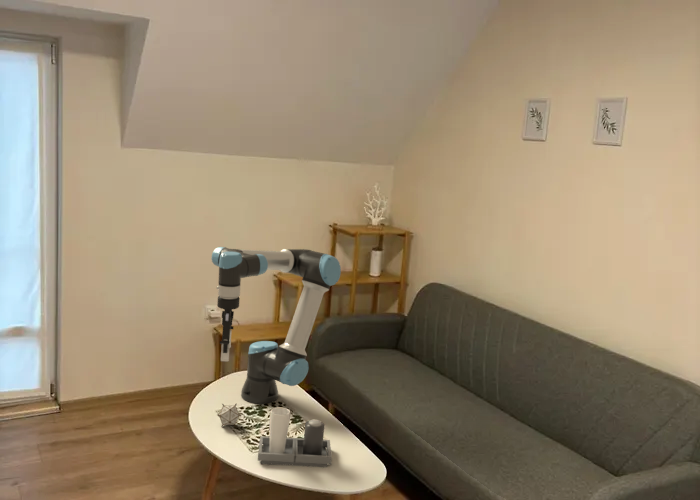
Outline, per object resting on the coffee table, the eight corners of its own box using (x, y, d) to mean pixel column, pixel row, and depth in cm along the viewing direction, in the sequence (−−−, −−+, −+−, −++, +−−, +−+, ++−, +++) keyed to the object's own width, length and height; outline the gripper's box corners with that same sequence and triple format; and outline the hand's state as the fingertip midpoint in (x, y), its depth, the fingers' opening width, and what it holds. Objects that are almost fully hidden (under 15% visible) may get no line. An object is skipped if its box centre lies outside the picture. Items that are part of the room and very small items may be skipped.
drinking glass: (283, 458, 219) (287, 416, 216) (264, 454, 220) (267, 413, 218) (289, 449, 225) (292, 409, 223) (270, 446, 227) (274, 405, 224)
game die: (222, 434, 241) (208, 411, 241) (240, 421, 246) (227, 398, 247) (231, 432, 234) (217, 408, 234) (249, 419, 239) (236, 395, 239)
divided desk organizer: (259, 444, 229) (262, 410, 226) (328, 448, 231) (332, 415, 229) (257, 463, 216) (260, 427, 214) (330, 467, 218) (334, 432, 216)
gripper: (220, 286, 238) (217, 341, 242) (215, 306, 214) (212, 366, 218) (240, 287, 239) (237, 342, 243) (238, 307, 215) (235, 367, 219)
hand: (225, 353), depth 231 cm, fingers open, 13 cm apart
